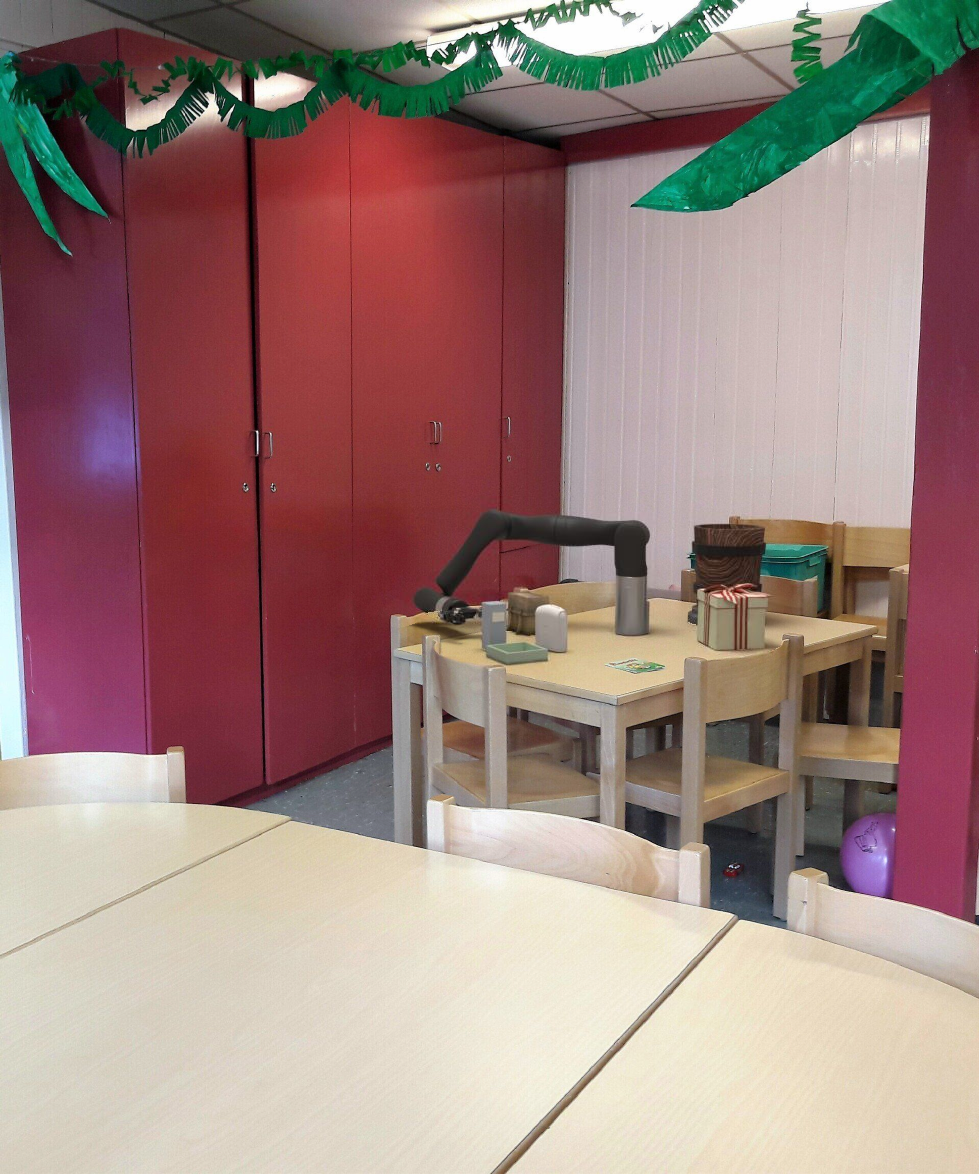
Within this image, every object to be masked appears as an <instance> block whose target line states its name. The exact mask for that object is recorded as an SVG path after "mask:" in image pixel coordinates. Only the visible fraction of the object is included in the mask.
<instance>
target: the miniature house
mask: <svg viewBox="0 0 979 1174" xmlns="http://www.w3.org/2000/svg"><path fill="white" fill-rule="evenodd" d="M542 605H553V604H551V603H550V596H549V595H542V594H539V593H538V594H537V593H534V592H532V591H529V590H526V591H514V592H512V591H511V592H508V593H507V607H506V612H507V625H506V631H513V633H515V632H516V633H515V635H516V636H521V634H522V636H524V635H525V636H524V637H531V636H530V635H534V636H535V612H536V609H537V608H538V607H539V606H542ZM554 605H555V606H558V607H560V608H561V606H560V605H556V604H554Z"/></svg>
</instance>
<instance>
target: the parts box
mask: <svg viewBox="0 0 979 1174" xmlns="http://www.w3.org/2000/svg"><path fill="white" fill-rule="evenodd" d="M481 607H482V619H481V649H482V648H483V649H485V650H484V651H486V645H495V644H505V643H507V632H506V629H507V611H506V609H507V603H506V602H502V601H498V600H495V601H483V602H481ZM483 649H482V650H483Z"/></svg>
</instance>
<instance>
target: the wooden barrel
mask: <svg viewBox="0 0 979 1174" xmlns="http://www.w3.org/2000/svg"><path fill="white" fill-rule="evenodd" d="M765 531H766V527H765V526H763V525H755V524H745V523H743V524H742V523H703V524H697V525H694V526H693V537H694V538H693V539H694V540H693V541H692V542H691V552H692V553H693V554H694V565H695V566H694V569H695V570H694V571H695V581H694V582H693V583H692V584H693V585H692V587H693V588H692V589H693V594H695V597H696V599H695V600H696V601H695V602H696V604H694V605H692V606H691V610H690V611H688V612H687V623H688V622H690V623H692V624H696V625H698V601H699V600H697V592H698V589H706V588H708V587H710V586H714V585H724V586H726V587H729V588H732V587H734V586H736V585H737V584H746V583H749V584H753V585H757V586H758V587H750V590H752V591H756V592H762V590H763V589H762V588H763V584H762V583H760V582H761V581H760V580H761V572H762V570H761V569H762V561H763V555H765V554H766V550H767V542H764V541H765ZM765 624H766V625H767V618H766V619H765Z"/></svg>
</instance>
